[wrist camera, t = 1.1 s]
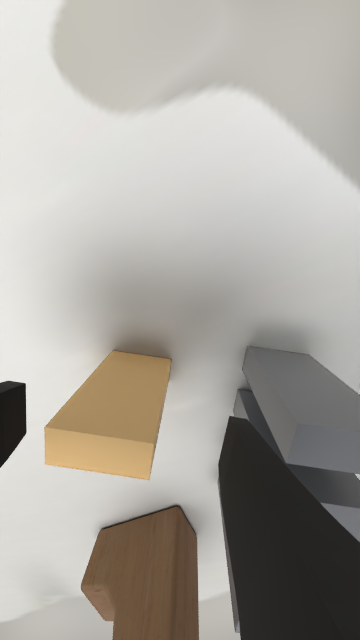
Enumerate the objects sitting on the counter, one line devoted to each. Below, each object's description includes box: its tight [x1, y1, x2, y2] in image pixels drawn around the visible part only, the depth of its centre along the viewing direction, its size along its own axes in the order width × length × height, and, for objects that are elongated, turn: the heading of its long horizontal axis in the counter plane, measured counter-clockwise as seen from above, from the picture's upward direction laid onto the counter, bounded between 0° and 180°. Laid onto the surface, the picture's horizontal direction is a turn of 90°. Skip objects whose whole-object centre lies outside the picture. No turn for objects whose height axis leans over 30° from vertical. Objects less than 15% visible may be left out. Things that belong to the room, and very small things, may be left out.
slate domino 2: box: [233, 389, 360, 542], centre depth 15 cm, size 5×2×9 cm, turn 82°
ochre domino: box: [45, 351, 172, 480], centre depth 15 cm, size 5×2×9 cm, turn 83°
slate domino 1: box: [242, 346, 360, 474], centre depth 14 cm, size 5×2×9 cm, turn 82°
